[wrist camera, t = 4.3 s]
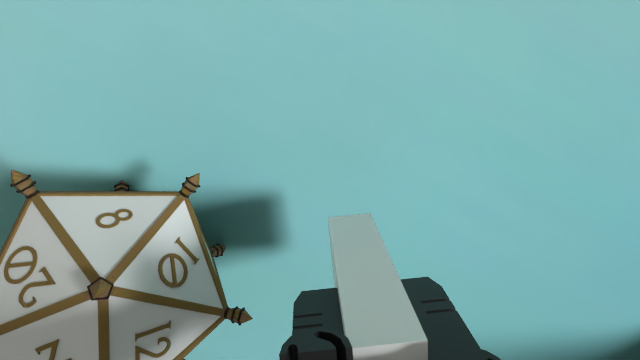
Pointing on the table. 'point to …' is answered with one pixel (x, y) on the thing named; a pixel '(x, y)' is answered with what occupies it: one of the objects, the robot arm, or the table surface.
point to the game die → (108, 276)
